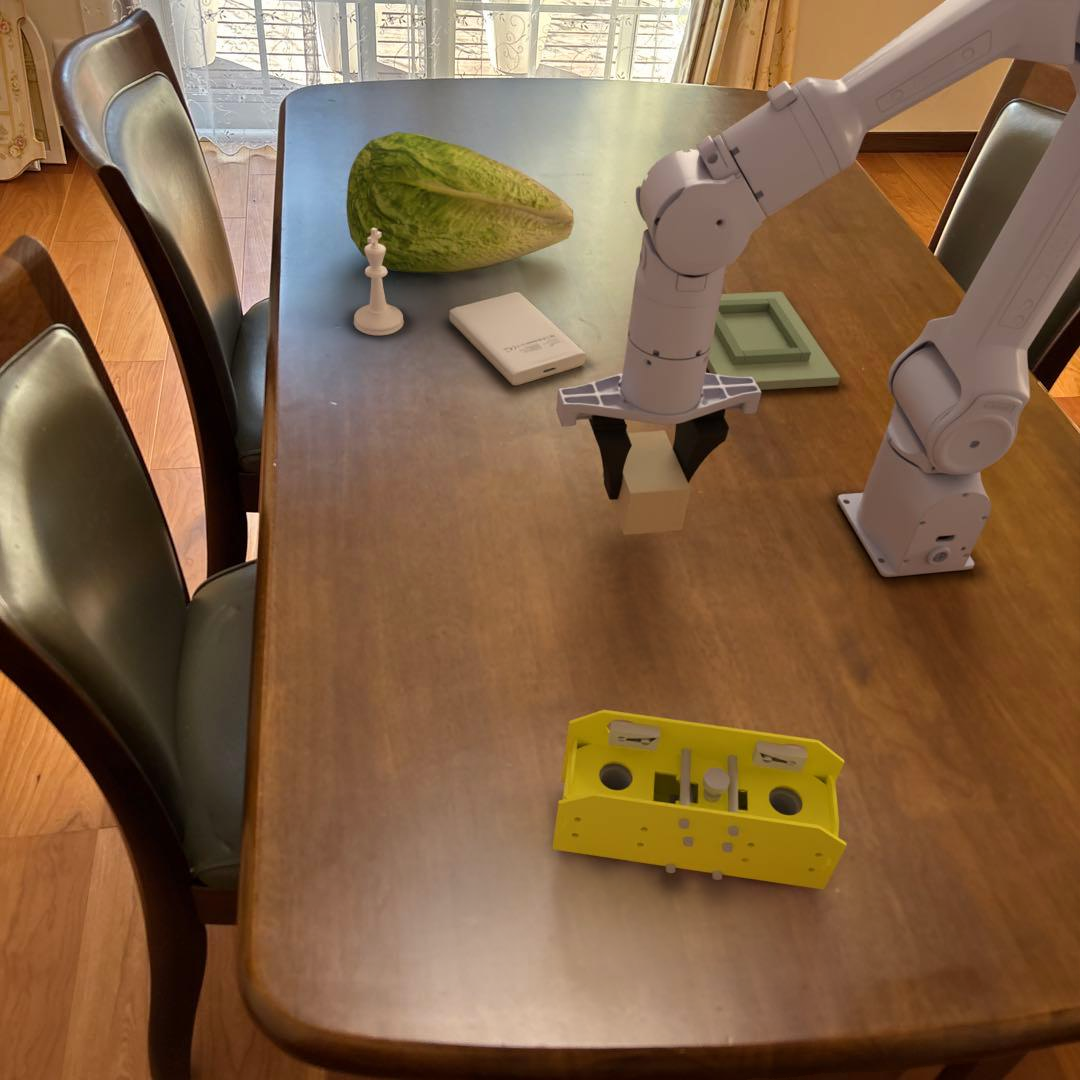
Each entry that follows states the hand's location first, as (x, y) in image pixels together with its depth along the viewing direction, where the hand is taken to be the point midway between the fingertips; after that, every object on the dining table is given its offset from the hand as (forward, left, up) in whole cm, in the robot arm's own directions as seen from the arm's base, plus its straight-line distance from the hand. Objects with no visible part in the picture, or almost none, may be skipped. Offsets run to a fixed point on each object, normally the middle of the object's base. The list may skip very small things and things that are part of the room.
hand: (644, 488), depth 79 cm
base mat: (+26, -19, -5) cm, 32 cm away
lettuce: (+45, +8, -5) cm, 46 cm away
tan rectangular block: (0, 0, -1) cm, 1 cm away
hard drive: (+28, +5, -5) cm, 29 cm away
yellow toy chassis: (-27, +4, -5) cm, 28 cm away
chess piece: (+33, +18, -5) cm, 38 cm away
